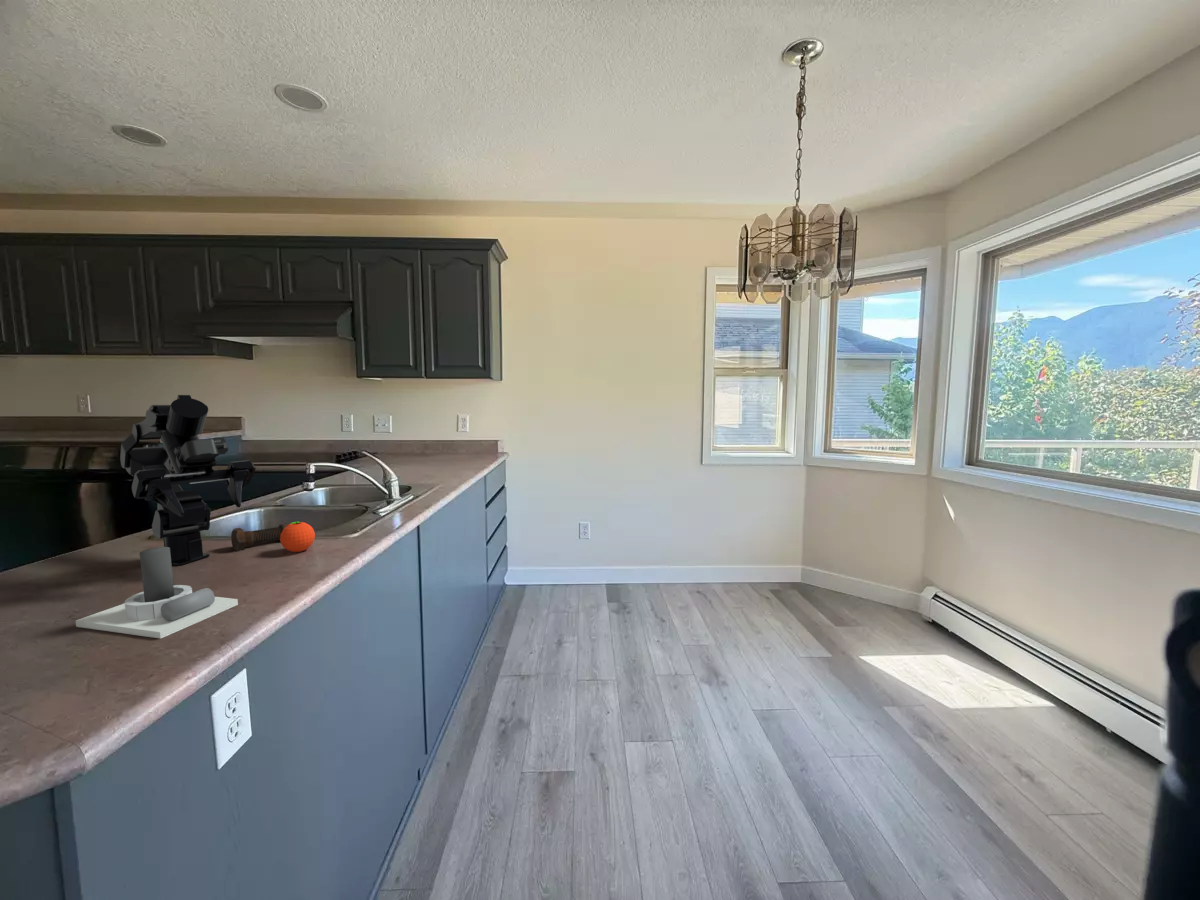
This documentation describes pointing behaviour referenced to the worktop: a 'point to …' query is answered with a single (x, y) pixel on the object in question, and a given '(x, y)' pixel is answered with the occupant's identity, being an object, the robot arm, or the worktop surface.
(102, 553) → the worktop surface
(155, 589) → the crank handle
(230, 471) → the robot arm
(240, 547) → the bolt
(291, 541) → the clementine
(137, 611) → the white socket base plate
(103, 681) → the worktop surface
